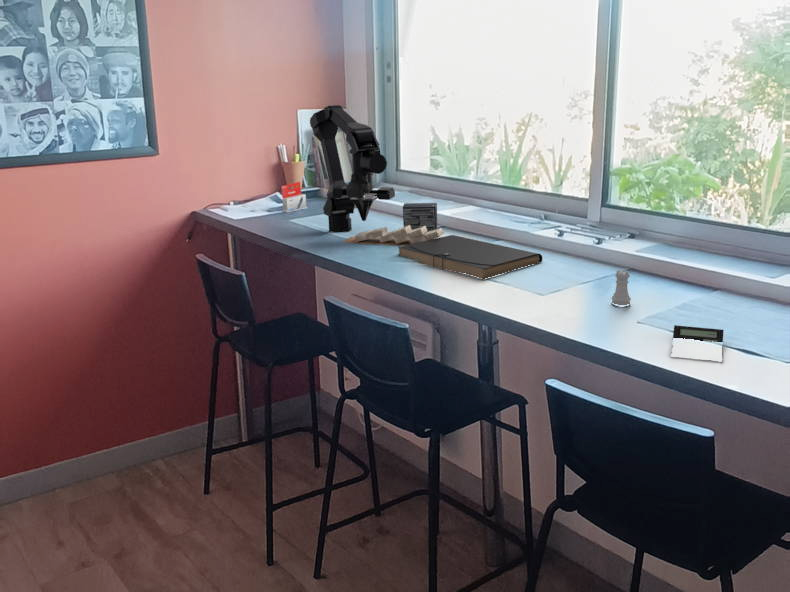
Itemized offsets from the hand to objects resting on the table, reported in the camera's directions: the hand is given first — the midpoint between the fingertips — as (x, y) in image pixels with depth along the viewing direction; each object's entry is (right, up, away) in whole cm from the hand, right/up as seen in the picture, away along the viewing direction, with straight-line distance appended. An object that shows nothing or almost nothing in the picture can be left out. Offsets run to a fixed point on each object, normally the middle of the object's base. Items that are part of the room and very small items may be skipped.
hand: (364, 220), depth 249 cm
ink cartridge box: (-28, +9, +55) cm, 62 cm away
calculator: (+69, -34, -89) cm, 117 cm away
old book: (+30, -14, -20) cm, 39 cm away
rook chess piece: (+62, -25, -61) cm, 90 cm away
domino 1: (-2, -5, +2) cm, 6 cm away
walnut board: (+5, -7, +1) cm, 9 cm away
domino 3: (+10, -6, -2) cm, 12 cm away
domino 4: (+15, -6, -3) cm, 17 cm away
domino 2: (+6, -5, 0) cm, 8 cm away
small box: (+18, -5, +8) cm, 20 cm away
